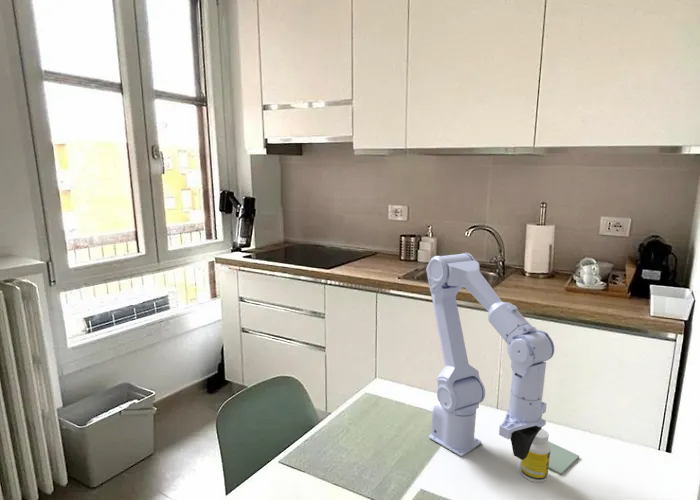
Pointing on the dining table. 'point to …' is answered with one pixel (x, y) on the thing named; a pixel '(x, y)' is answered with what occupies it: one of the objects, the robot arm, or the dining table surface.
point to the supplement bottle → (537, 458)
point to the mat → (560, 459)
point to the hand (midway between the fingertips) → (519, 456)
